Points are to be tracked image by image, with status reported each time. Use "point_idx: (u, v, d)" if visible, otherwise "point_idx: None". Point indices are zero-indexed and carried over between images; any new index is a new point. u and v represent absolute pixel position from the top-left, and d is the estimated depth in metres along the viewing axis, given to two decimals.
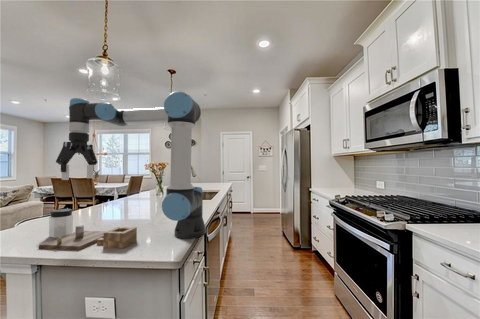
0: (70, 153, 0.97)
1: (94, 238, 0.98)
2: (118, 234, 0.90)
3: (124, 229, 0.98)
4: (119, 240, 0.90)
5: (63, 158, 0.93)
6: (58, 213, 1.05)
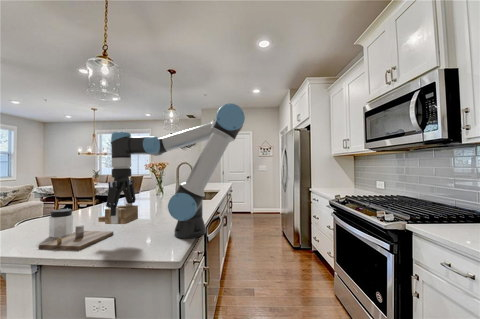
0: (116, 193, 0.92)
1: (94, 238, 0.98)
2: (119, 210, 0.91)
3: (125, 207, 0.98)
4: (120, 216, 0.91)
5: (113, 201, 0.88)
6: (58, 213, 1.05)
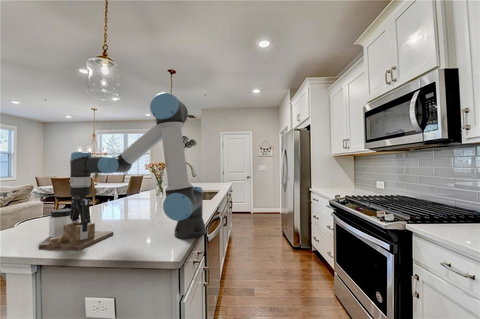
0: None
1: (94, 238, 0.98)
2: (88, 225, 0.98)
3: (77, 224, 1.01)
4: (89, 230, 0.98)
5: None
6: (58, 213, 1.05)
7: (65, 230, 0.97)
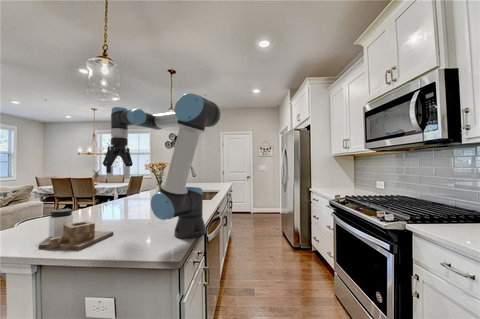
0: (113, 156, 1.10)
1: (94, 238, 0.98)
2: (88, 225, 0.98)
3: (77, 224, 1.01)
4: (89, 230, 0.98)
5: (109, 160, 1.05)
6: (58, 213, 1.04)
7: (65, 230, 0.97)
